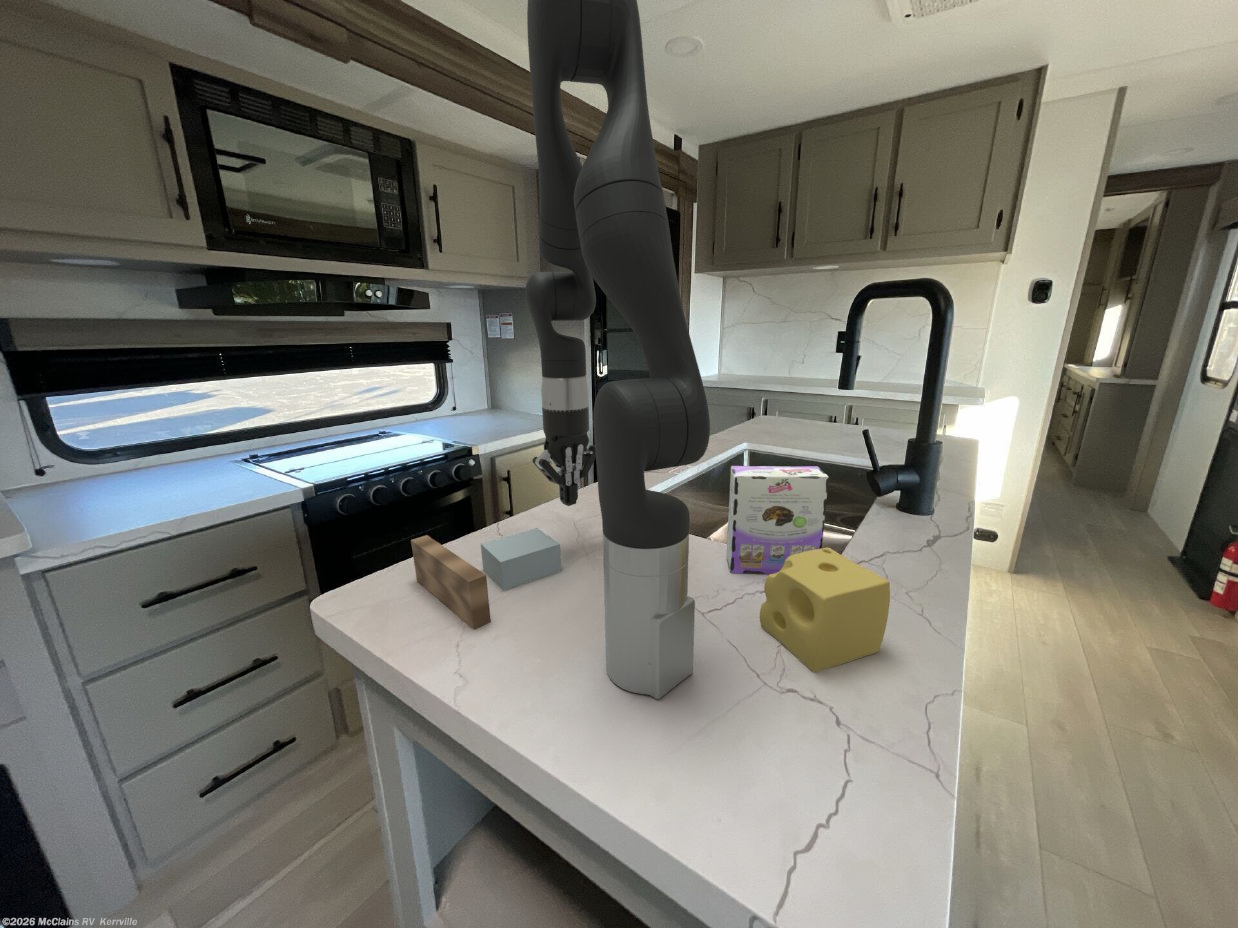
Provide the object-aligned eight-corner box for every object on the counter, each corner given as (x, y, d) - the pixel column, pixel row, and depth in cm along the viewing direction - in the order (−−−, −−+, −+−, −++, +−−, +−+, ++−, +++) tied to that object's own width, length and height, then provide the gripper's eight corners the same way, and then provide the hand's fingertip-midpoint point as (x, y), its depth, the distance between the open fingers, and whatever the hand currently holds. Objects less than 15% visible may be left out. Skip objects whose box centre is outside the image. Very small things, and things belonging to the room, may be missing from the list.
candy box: (809, 559, 83) (819, 464, 78) (819, 577, 77) (831, 476, 72) (725, 556, 84) (730, 463, 79) (729, 574, 78) (734, 474, 74)
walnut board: (490, 621, 67) (486, 574, 65) (473, 629, 65) (468, 581, 63) (432, 575, 79) (426, 535, 77) (416, 580, 78) (410, 539, 76)
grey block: (561, 572, 80) (559, 543, 79) (503, 592, 75) (500, 562, 73) (538, 554, 86) (536, 527, 85) (483, 571, 81) (480, 543, 79)
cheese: (757, 626, 65) (762, 557, 62) (823, 609, 69) (831, 543, 66) (814, 678, 56) (822, 599, 53) (886, 654, 59) (898, 580, 56)
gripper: (546, 413, 73) (551, 521, 78) (610, 401, 82) (612, 499, 87) (517, 406, 78) (524, 508, 83) (581, 396, 87) (584, 489, 92)
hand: (569, 503), depth 85 cm, fingers closed
